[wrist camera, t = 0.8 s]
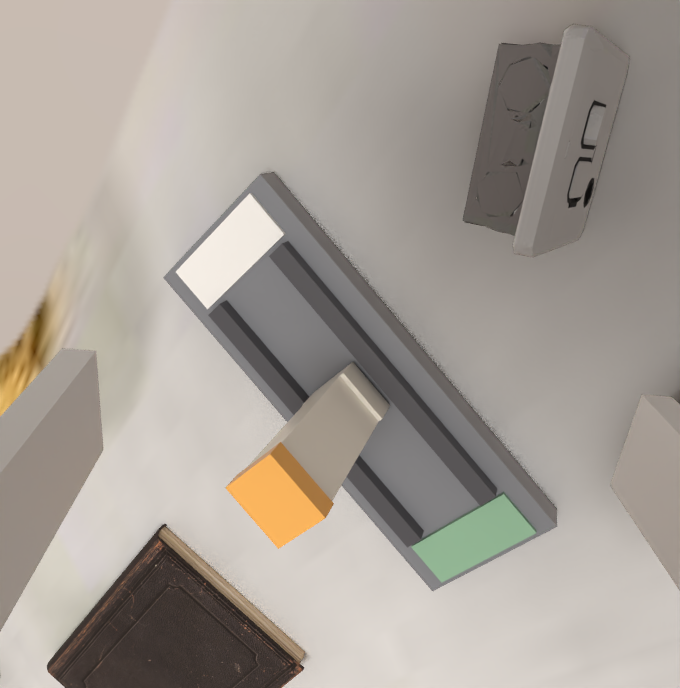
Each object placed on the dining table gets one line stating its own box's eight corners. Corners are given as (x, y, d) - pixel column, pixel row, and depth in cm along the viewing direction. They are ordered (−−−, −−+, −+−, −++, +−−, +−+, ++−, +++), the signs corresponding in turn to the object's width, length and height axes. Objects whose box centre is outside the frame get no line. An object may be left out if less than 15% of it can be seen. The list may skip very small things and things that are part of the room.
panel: (273, 172, 38) (253, 175, 36) (556, 508, 40) (557, 536, 37) (179, 271, 43) (154, 280, 40) (437, 572, 44) (430, 601, 41)
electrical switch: (580, 240, 34) (570, 268, 26) (489, 222, 36) (452, 243, 28) (632, 56, 31) (638, 24, 23) (528, 46, 33) (499, 12, 24)
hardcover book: (312, 648, 51) (302, 670, 49) (179, 759, 61) (166, 781, 58) (168, 519, 51) (152, 535, 49) (60, 649, 61) (42, 667, 59)
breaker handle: (351, 360, 38) (273, 451, 27) (390, 406, 38) (328, 516, 27) (312, 391, 40) (222, 489, 29) (350, 435, 40) (275, 550, 29)
